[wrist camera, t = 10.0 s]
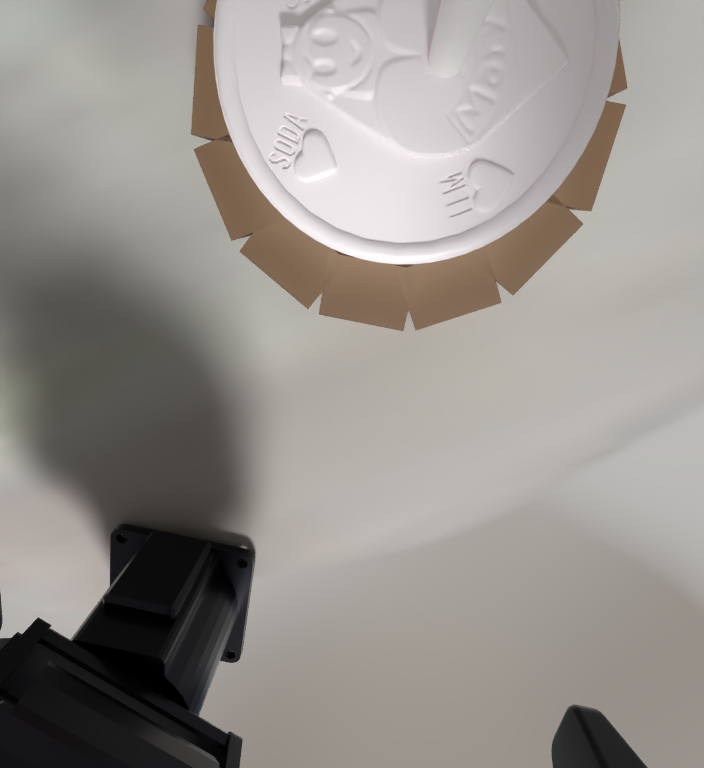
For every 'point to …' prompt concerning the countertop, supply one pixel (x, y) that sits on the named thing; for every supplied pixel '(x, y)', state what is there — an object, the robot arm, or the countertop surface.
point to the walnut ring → (382, 280)
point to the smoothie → (412, 113)
